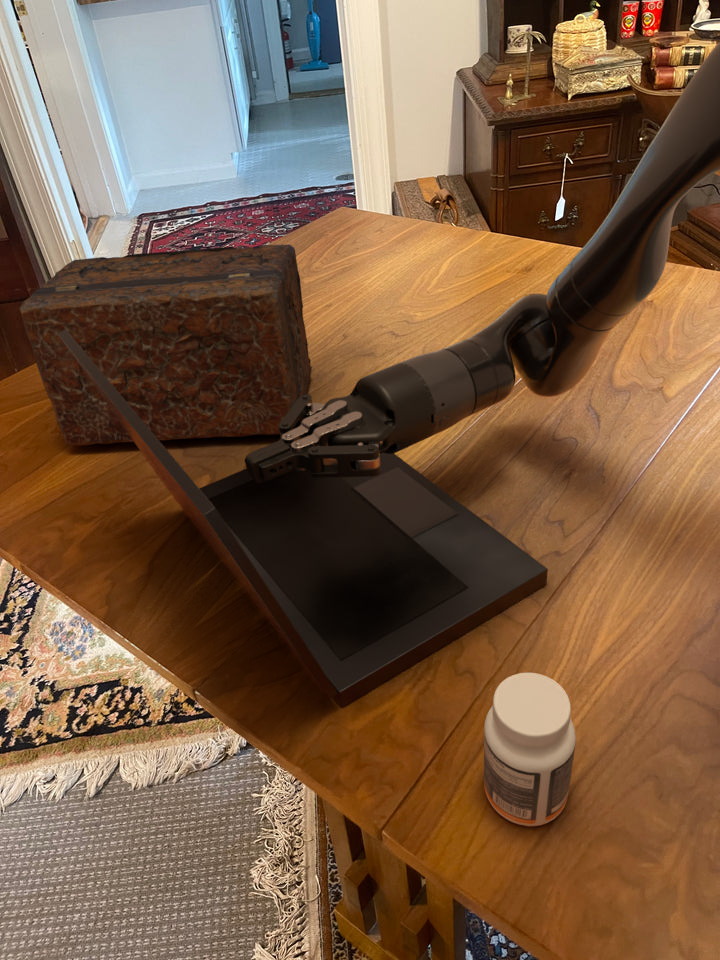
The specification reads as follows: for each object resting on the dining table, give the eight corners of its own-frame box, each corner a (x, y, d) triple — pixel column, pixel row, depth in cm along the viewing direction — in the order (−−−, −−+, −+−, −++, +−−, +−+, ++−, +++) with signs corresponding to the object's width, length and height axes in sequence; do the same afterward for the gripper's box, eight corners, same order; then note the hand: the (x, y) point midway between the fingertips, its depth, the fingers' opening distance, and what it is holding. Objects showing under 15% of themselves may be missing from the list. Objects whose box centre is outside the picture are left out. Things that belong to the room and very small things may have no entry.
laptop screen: (66, 328, 64) (57, 333, 64) (216, 506, 41) (203, 515, 41) (182, 495, 79) (175, 500, 79) (339, 692, 56) (329, 700, 56)
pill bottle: (540, 742, 54) (549, 653, 48) (583, 813, 49) (599, 724, 43) (469, 768, 52) (469, 680, 47) (507, 843, 48) (512, 756, 42)
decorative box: (101, 395, 105) (55, 462, 88) (62, 252, 95) (1, 296, 78) (314, 379, 105) (310, 443, 87) (298, 233, 94) (290, 273, 77)
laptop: (355, 436, 89) (353, 421, 87) (546, 584, 66) (548, 568, 65) (186, 509, 80) (182, 494, 79) (341, 708, 58) (339, 691, 56)
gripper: (371, 340, 71) (208, 402, 64) (459, 391, 62) (280, 470, 55) (377, 407, 76) (225, 471, 69) (459, 463, 66) (294, 544, 60)
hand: (250, 470), depth 62 cm, fingers closed
